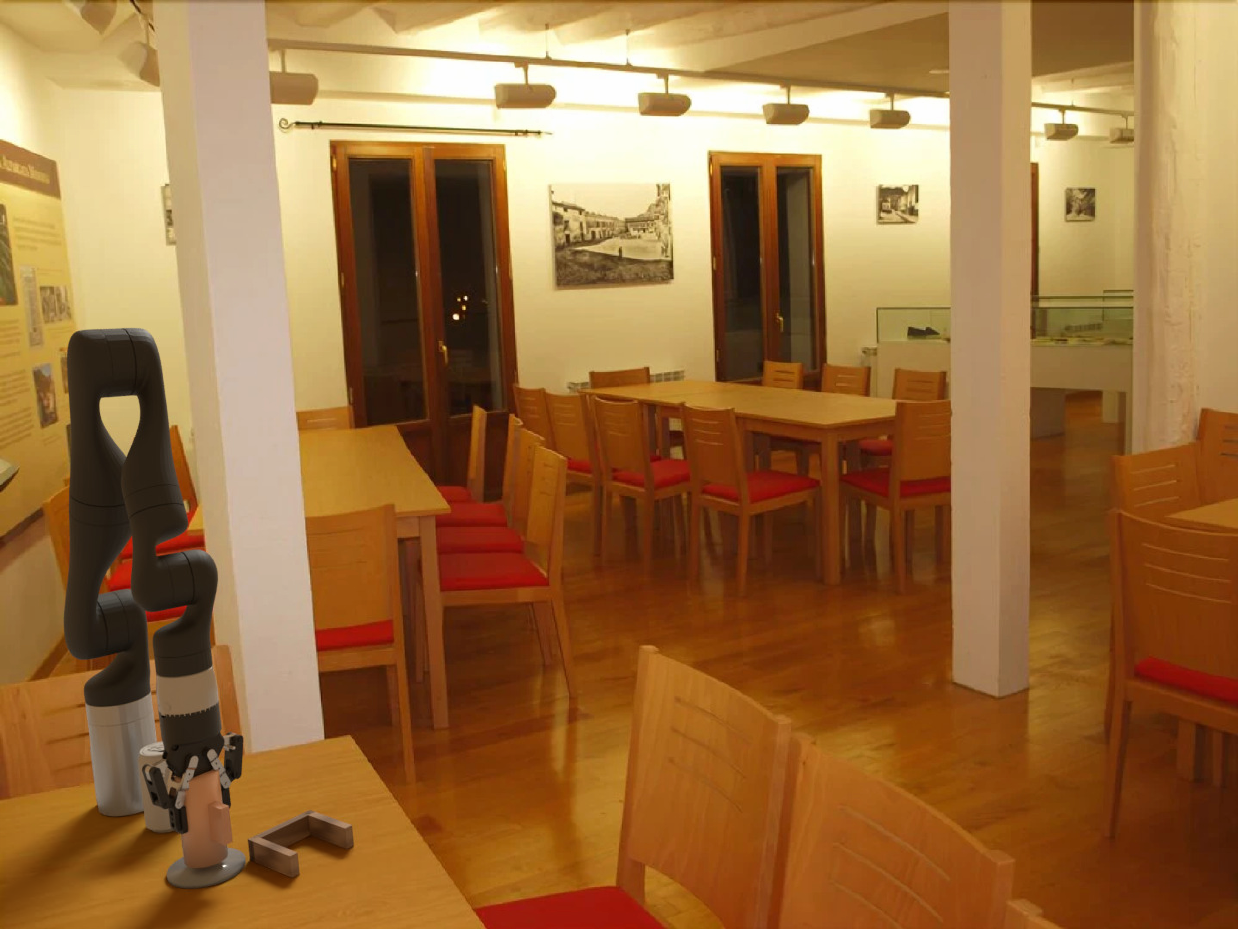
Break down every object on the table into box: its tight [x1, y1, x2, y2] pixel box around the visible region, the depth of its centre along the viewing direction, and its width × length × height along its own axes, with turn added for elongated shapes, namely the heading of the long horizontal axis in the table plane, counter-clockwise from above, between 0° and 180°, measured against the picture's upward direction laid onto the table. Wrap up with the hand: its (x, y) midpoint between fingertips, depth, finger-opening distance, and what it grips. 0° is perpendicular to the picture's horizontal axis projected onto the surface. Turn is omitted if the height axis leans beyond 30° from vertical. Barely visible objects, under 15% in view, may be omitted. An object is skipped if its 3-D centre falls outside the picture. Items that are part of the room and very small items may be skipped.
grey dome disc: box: [166, 847, 247, 890], centre depth 156 cm, size 10×10×1 cm
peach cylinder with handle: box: [175, 769, 234, 868], centre depth 154 cm, size 8×6×12 cm, turn 53°
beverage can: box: [138, 740, 176, 834], centre depth 169 cm, size 6×6×12 cm
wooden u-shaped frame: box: [247, 809, 355, 879], centre depth 159 cm, size 9×10×3 cm
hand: (201, 822), depth 155 cm, fingers closed on peach cylinder with handle, 5 cm apart
